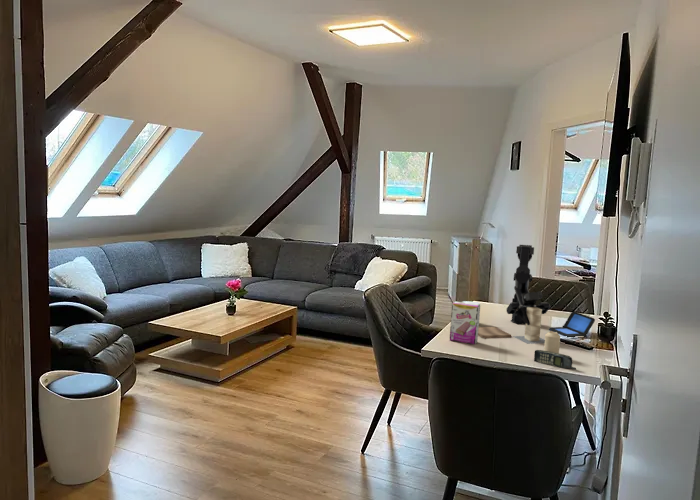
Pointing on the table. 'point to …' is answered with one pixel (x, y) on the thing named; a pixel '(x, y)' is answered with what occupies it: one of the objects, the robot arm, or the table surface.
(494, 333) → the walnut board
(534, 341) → the gray mat
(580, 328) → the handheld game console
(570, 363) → the mobile phone
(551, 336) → the candle
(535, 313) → the birch block
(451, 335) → the candy bar box
